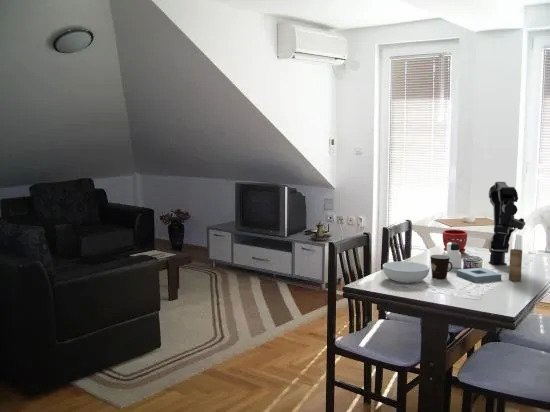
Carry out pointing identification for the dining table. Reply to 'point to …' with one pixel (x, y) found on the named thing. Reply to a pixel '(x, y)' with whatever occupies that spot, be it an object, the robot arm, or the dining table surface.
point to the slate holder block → (479, 274)
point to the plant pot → (455, 238)
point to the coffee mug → (440, 266)
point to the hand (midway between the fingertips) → (504, 244)
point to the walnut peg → (515, 265)
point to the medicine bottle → (453, 255)
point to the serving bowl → (406, 271)
